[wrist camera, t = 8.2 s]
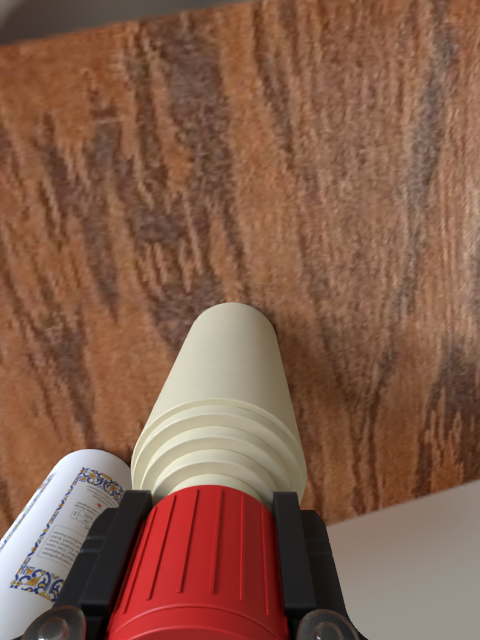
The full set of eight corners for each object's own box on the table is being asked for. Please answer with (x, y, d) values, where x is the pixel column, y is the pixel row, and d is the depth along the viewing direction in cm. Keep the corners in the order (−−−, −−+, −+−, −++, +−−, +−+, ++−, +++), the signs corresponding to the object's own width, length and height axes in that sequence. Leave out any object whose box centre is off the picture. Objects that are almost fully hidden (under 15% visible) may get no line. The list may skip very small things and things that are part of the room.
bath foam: (69, 521, 32) (-188, 984, 13) (42, 452, 30) (-308, 881, 11) (148, 510, 32) (0, 974, 13) (126, 439, 30) (-90, 864, 11)
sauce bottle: (276, 386, 28) (340, 767, 9) (189, 386, 28) (68, 762, 9) (278, 302, 26) (362, 550, 7) (185, 302, 26) (23, 547, 7)
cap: (284, 482, 11) (305, 627, 7) (281, 597, 12) (297, 773, 8) (134, 481, 11) (75, 624, 7) (145, 596, 12) (100, 769, 8)
